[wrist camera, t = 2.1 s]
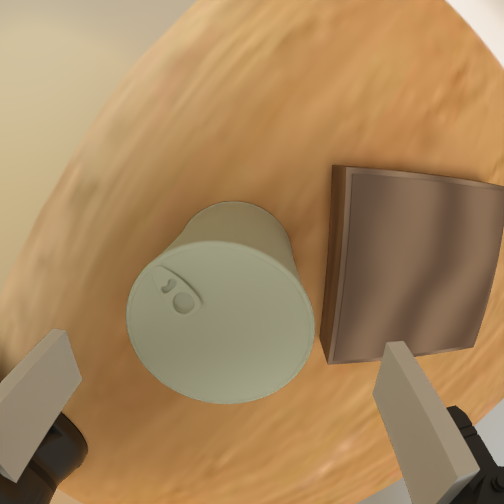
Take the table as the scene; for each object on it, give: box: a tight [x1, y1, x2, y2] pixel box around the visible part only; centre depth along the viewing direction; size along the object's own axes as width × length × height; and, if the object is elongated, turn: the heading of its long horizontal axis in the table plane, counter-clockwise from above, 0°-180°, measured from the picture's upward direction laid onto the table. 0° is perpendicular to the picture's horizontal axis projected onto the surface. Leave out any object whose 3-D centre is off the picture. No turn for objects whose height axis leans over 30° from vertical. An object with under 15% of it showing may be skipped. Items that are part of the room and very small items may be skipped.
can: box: [126, 201, 315, 404], centre depth 20 cm, size 9×9×12 cm
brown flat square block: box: [320, 165, 504, 365], centre depth 23 cm, size 15×15×4 cm
